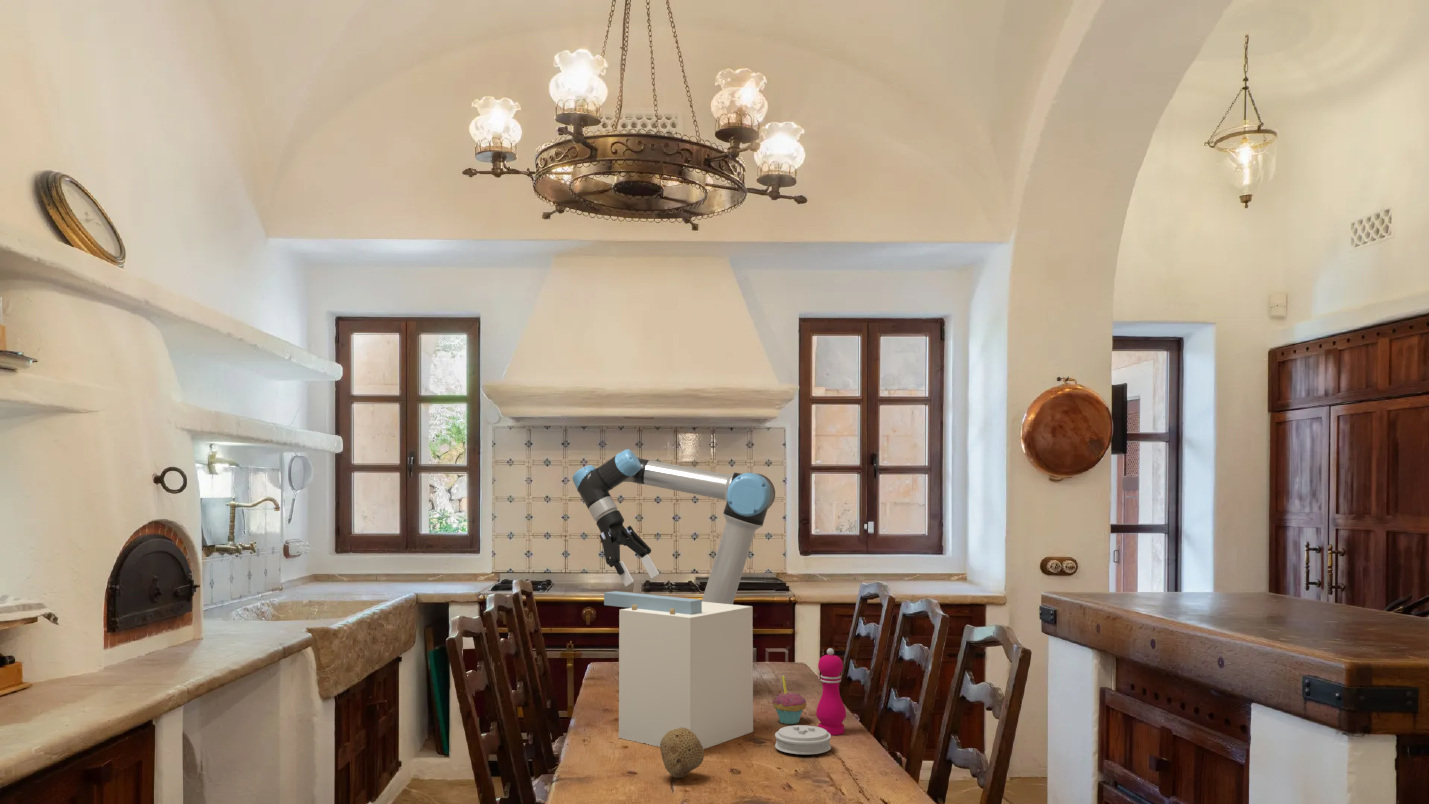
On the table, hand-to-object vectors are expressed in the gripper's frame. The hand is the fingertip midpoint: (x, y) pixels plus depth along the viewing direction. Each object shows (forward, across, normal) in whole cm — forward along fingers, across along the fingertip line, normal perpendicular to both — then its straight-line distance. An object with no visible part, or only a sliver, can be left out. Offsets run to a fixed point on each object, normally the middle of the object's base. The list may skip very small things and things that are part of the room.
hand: (642, 580), depth 272 cm
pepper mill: (+60, +11, +32) cm, 69 cm away
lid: (+59, +28, +33) cm, 73 cm away
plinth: (+42, +30, +8) cm, 52 cm away
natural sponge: (+49, +59, +22) cm, 80 cm away
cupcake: (+53, +7, +22) cm, 57 cm away
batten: (+13, +32, +19) cm, 39 cm away
